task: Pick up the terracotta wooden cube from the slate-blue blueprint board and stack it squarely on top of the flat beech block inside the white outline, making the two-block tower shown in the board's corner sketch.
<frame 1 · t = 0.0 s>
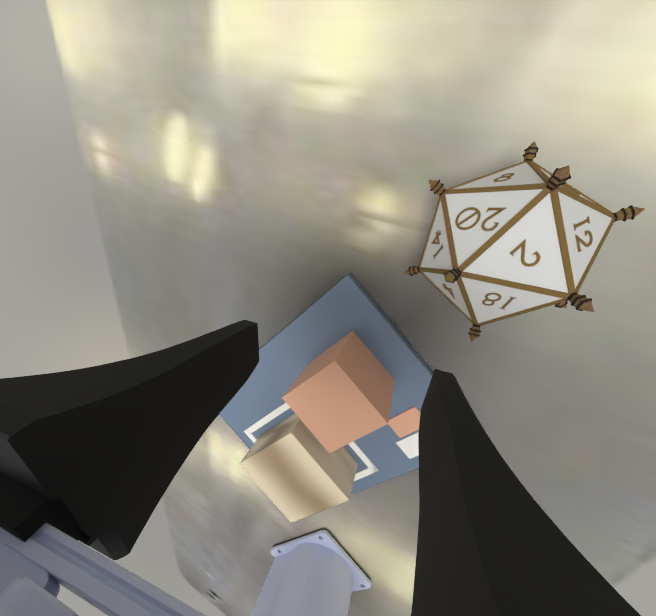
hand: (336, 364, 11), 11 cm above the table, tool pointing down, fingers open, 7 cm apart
game die: (482, 241, 18), on the table
blueprint board: (325, 409, 25), on the table
beech block: (306, 448, 26), point 1 cm above the table, touching blueprint board
terracotta cube: (349, 371, 22), point 1 cm above the table, touching blueprint board
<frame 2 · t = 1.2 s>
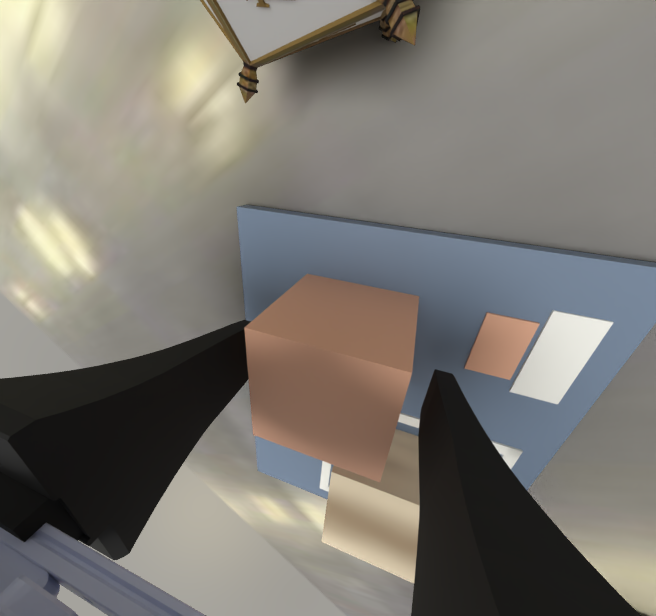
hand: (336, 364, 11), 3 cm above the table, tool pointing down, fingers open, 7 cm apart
blueprint board: (379, 405, 16), on the table
beech block: (399, 472, 16), point 1 cm above the table, touching blueprint board
terracotta cube: (353, 332, 13), point 1 cm above the table, touching blueprint board
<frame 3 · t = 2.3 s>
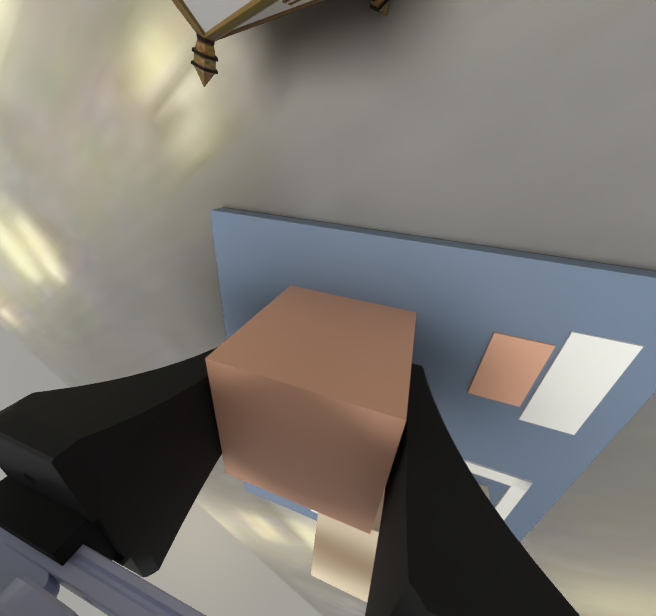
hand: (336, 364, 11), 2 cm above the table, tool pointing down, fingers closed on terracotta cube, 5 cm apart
blueprint board: (374, 427, 14), on the table
beech block: (396, 498, 15), point 1 cm above the table, touching blueprint board
terracotta cube: (343, 349, 12), point 1 cm above the table, touching blueprint board, gripper
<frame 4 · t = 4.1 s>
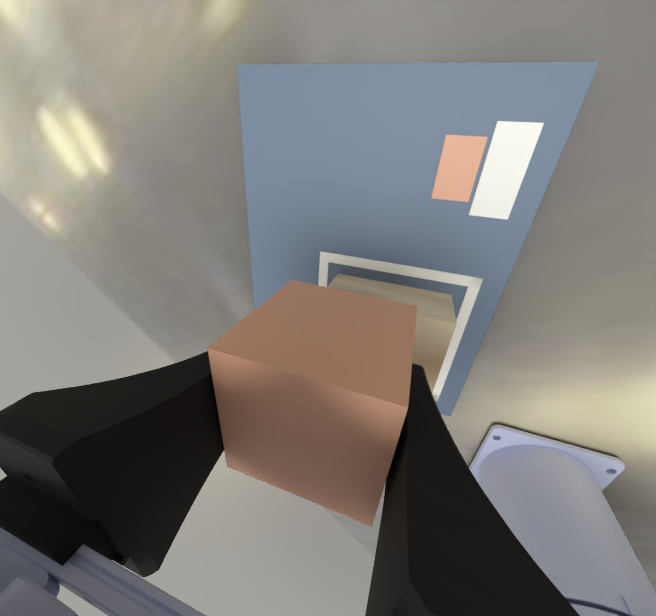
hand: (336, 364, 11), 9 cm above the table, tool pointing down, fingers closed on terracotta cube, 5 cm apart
blueprint board: (364, 266, 18), on the table
beech block: (382, 330, 19), point 1 cm above the table, touching blueprint board
terracotta cube: (344, 344, 12), point 8 cm above the table, touching gripper
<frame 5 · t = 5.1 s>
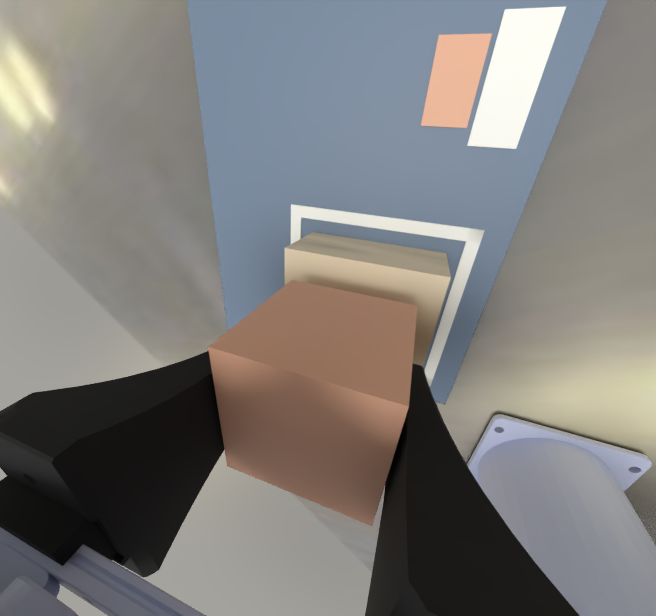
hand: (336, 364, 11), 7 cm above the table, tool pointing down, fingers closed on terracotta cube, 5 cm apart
blueprint board: (343, 223, 15), on the table
beech block: (366, 301, 16), point 1 cm above the table, touching blueprint board
terracotta cube: (344, 344, 12), point 6 cm above the table, touching gripper
when the fingers open (7 cm above the table, at t = 5.6 s): terracotta cube drops 1 cm, resting on beech block.
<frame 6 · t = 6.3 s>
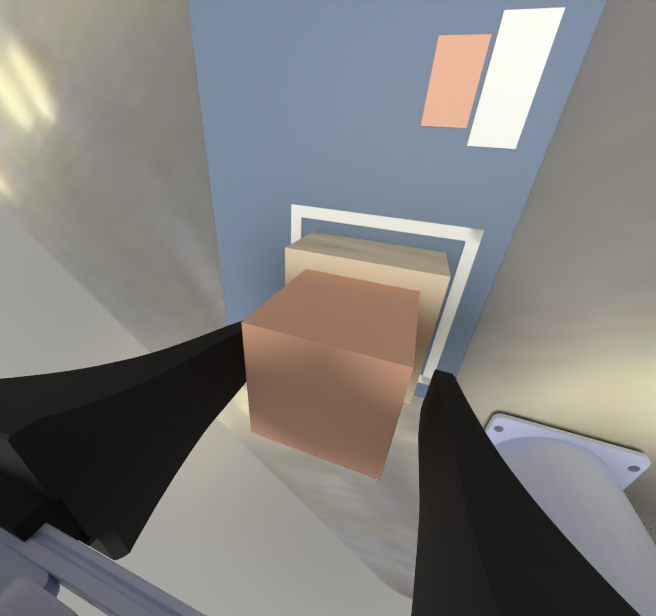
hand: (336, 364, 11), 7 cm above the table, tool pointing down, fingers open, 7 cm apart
blueprint board: (344, 223, 15), on the table
beech block: (366, 300, 16), point 1 cm above the table, touching blueprint board, terracotta cube
terracotta cube: (352, 328, 13), point 4 cm above the table, touching beech block
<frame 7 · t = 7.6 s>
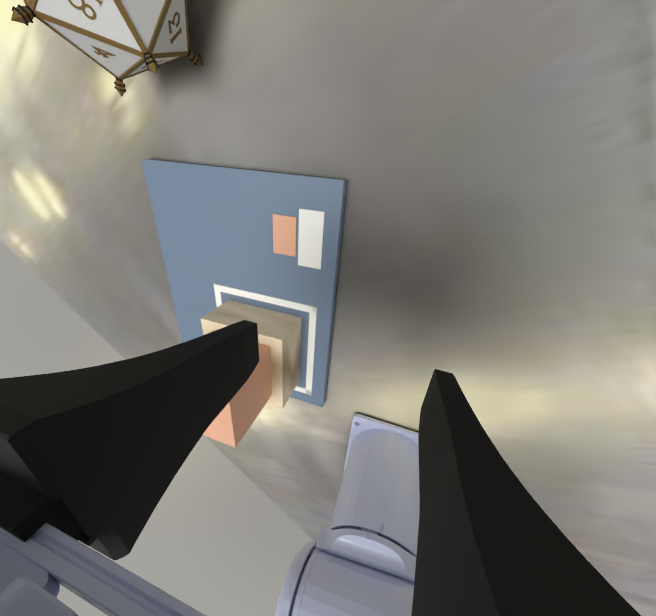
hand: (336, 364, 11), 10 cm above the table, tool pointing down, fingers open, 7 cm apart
game die: (173, 16, 17), on the table
blueprint board: (248, 294, 24), on the table
beech block: (265, 341, 25), point 1 cm above the table, touching blueprint board, terracotta cube
terracotta cube: (243, 363, 22), point 4 cm above the table, touching beech block
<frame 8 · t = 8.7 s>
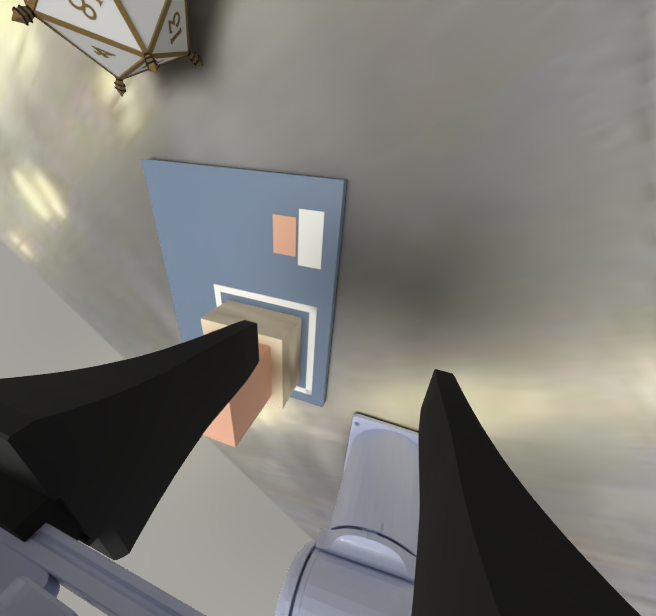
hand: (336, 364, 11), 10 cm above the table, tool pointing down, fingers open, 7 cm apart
game die: (173, 16, 17), on the table
blueprint board: (248, 294, 24), on the table
beech block: (265, 341, 25), point 1 cm above the table, touching blueprint board, terracotta cube
terracotta cube: (243, 363, 22), point 4 cm above the table, touching beech block
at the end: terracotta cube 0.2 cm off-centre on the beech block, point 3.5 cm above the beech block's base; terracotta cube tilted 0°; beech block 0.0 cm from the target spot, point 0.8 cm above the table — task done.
